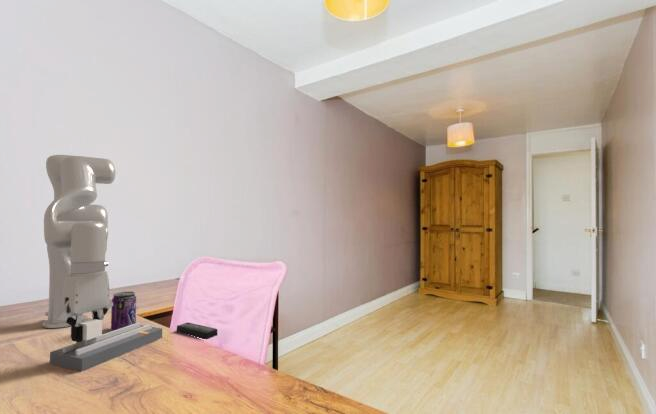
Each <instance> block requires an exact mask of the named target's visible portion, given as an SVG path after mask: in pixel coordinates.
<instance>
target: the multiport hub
mask: <svg viewBox="0 0 656 414" xmlns="http://www.w3.org/2000/svg"><path fill="white" fill-rule="evenodd" d="M176 333H180V334H183V335H187V336H192V337H196V338H200V339H204V340H209V339H211V338H214V337H216V336H217V337H218V328H216V327H215V328H214V327H212V326H211V327H210V326H206V325H202V324H201V325H200V324H197V323H196V324H195V323H192V322H185V323H182V324H177V325H176Z"/></svg>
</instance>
